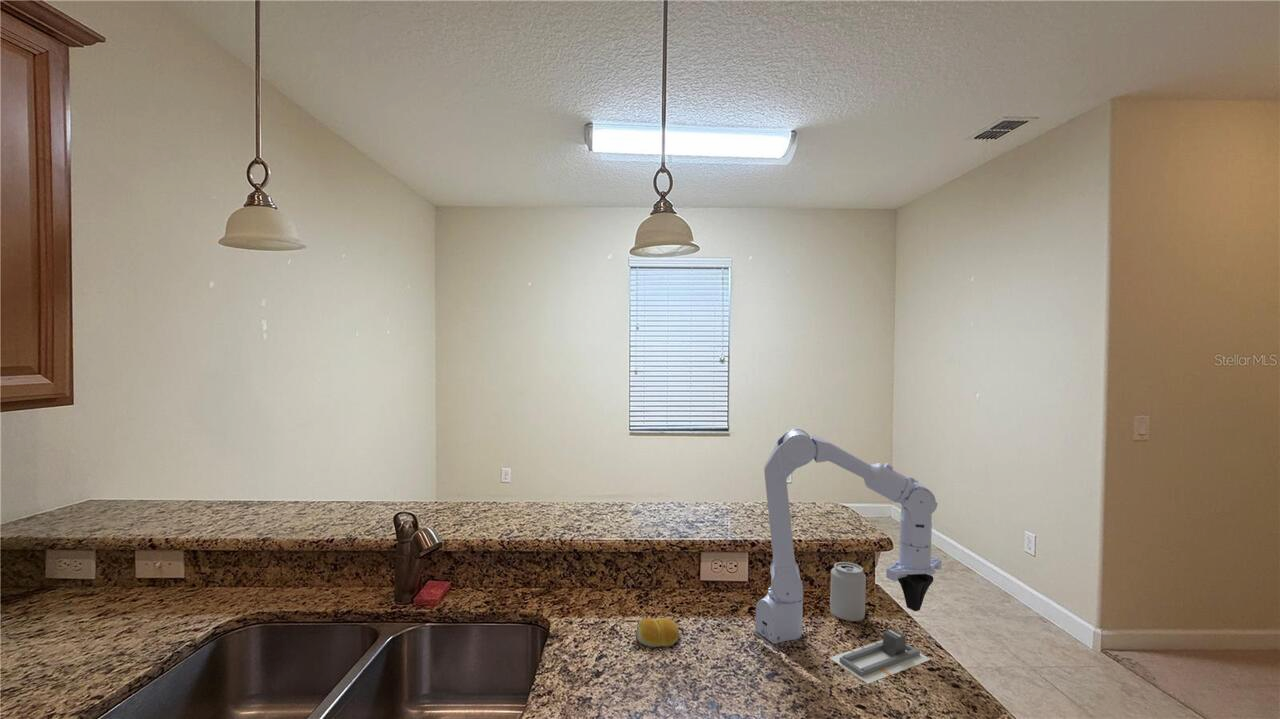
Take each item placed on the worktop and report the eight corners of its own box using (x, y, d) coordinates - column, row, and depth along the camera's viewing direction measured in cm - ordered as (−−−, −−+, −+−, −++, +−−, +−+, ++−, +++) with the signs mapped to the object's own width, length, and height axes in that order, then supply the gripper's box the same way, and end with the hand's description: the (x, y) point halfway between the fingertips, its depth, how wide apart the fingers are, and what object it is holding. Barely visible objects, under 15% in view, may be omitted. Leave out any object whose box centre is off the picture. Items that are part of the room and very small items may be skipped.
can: (858, 611, 126) (860, 560, 126) (869, 627, 119) (870, 574, 118) (826, 609, 127) (827, 559, 127) (834, 625, 119) (836, 571, 119)
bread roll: (683, 647, 109) (683, 628, 109) (640, 650, 108) (640, 631, 108) (674, 626, 117) (674, 608, 117) (633, 629, 116) (634, 611, 116)
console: (867, 690, 96) (867, 678, 96) (829, 663, 104) (829, 652, 104) (931, 665, 104) (931, 654, 104) (890, 642, 112) (891, 632, 112)
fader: (895, 659, 104) (895, 638, 104) (882, 651, 107) (883, 631, 107) (905, 655, 106) (905, 634, 106) (892, 648, 108) (893, 628, 108)
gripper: (909, 554, 101) (907, 625, 102) (956, 543, 108) (954, 610, 108) (878, 542, 108) (876, 609, 108) (924, 532, 114) (922, 595, 115)
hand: (913, 608), depth 109 cm, fingers closed
